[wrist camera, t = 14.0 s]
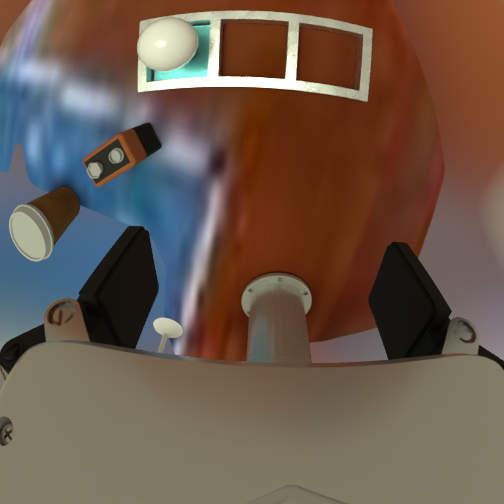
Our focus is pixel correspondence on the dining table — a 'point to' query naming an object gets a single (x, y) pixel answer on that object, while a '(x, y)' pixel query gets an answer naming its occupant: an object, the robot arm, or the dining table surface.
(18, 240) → the disposable coffee cup
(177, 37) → the lightbulb
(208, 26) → the rail
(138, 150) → the battery
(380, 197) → the dining table surface
